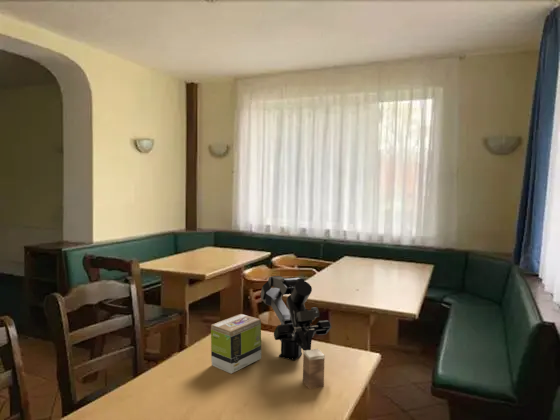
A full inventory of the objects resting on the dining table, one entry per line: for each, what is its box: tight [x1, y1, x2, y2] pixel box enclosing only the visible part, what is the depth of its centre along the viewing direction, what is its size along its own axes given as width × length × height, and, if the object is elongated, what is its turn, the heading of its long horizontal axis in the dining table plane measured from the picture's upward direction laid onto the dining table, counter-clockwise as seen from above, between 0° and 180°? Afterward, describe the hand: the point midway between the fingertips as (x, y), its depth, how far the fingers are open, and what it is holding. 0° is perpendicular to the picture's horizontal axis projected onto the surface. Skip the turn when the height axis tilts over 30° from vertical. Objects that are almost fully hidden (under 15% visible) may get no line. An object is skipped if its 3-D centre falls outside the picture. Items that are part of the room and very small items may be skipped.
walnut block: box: [302, 348, 326, 390], centre depth 134 cm, size 5×5×10 cm
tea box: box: [210, 313, 262, 374], centre depth 147 cm, size 15×10×15 cm, turn 141°
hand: (309, 354), depth 137 cm, fingers closed
